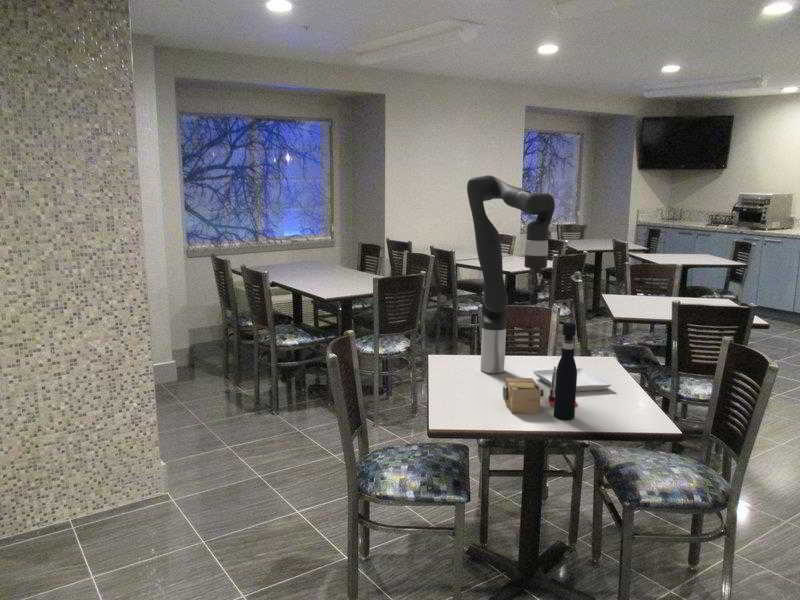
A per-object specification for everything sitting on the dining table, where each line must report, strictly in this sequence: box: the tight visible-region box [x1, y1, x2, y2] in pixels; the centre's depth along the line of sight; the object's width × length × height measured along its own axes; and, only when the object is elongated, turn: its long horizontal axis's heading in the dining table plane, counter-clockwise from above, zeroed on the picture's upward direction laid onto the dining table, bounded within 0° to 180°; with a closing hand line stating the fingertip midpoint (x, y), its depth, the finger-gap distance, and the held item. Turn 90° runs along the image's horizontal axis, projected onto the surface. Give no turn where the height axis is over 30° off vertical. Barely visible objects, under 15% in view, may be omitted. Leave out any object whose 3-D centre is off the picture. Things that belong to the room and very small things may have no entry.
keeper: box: [515, 383, 534, 388], centre depth 205 cm, size 3×6×1 cm, turn 92°
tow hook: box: [547, 366, 578, 408], centre depth 213 cm, size 8×13×9 cm
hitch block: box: [503, 377, 542, 414], centre depth 210 cm, size 12×9×9 cm
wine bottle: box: [552, 322, 578, 421], centre depth 199 cm, size 6×6×30 cm
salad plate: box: [532, 367, 612, 393], centre depth 235 cm, size 21×21×3 cm
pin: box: [502, 385, 545, 400], centre depth 212 cm, size 13×5×5 cm, turn 92°
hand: (533, 304), depth 218 cm, fingers closed
